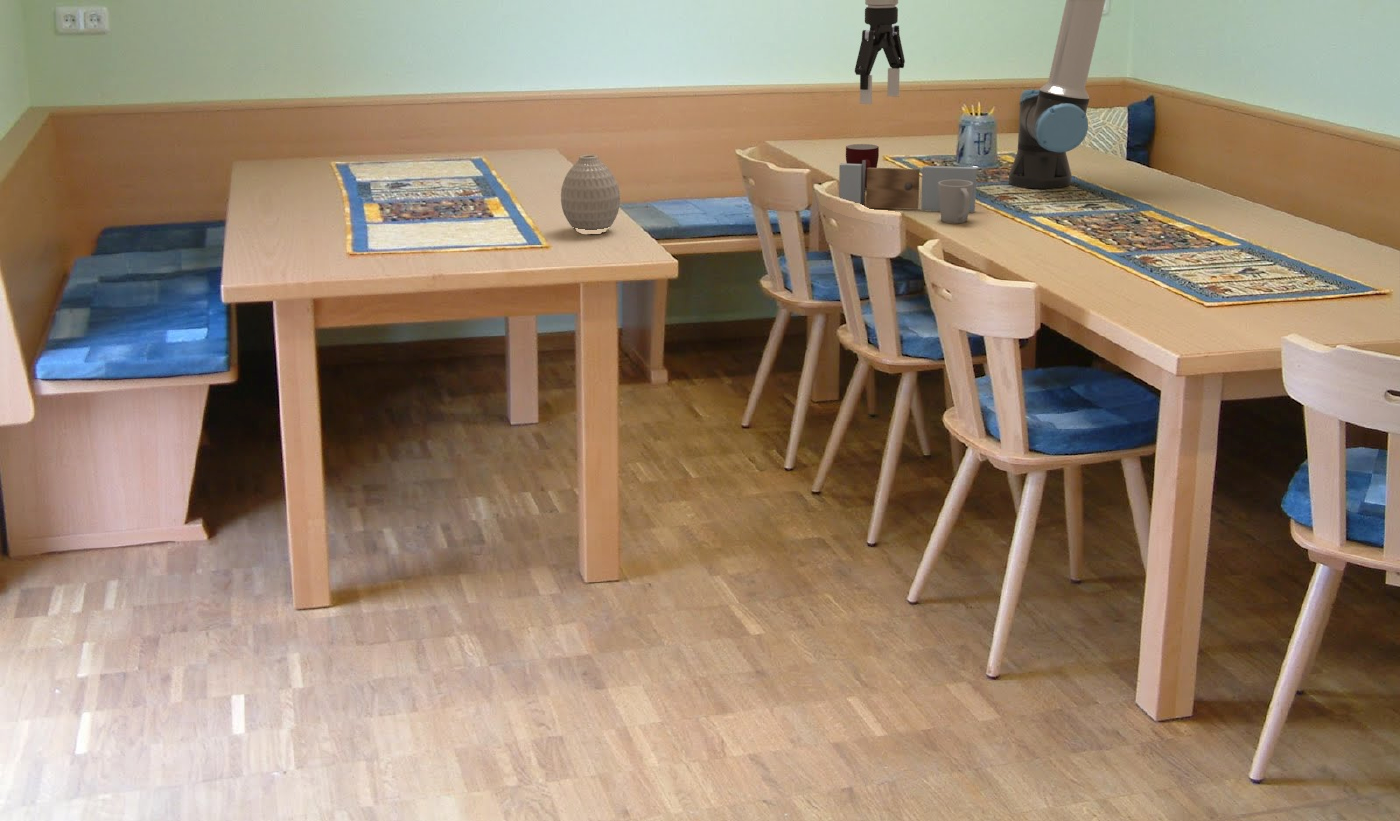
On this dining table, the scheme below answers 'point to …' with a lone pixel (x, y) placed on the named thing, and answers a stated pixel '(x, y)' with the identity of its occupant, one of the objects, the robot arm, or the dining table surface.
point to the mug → (863, 155)
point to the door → (892, 188)
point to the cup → (954, 200)
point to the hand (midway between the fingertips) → (879, 100)
